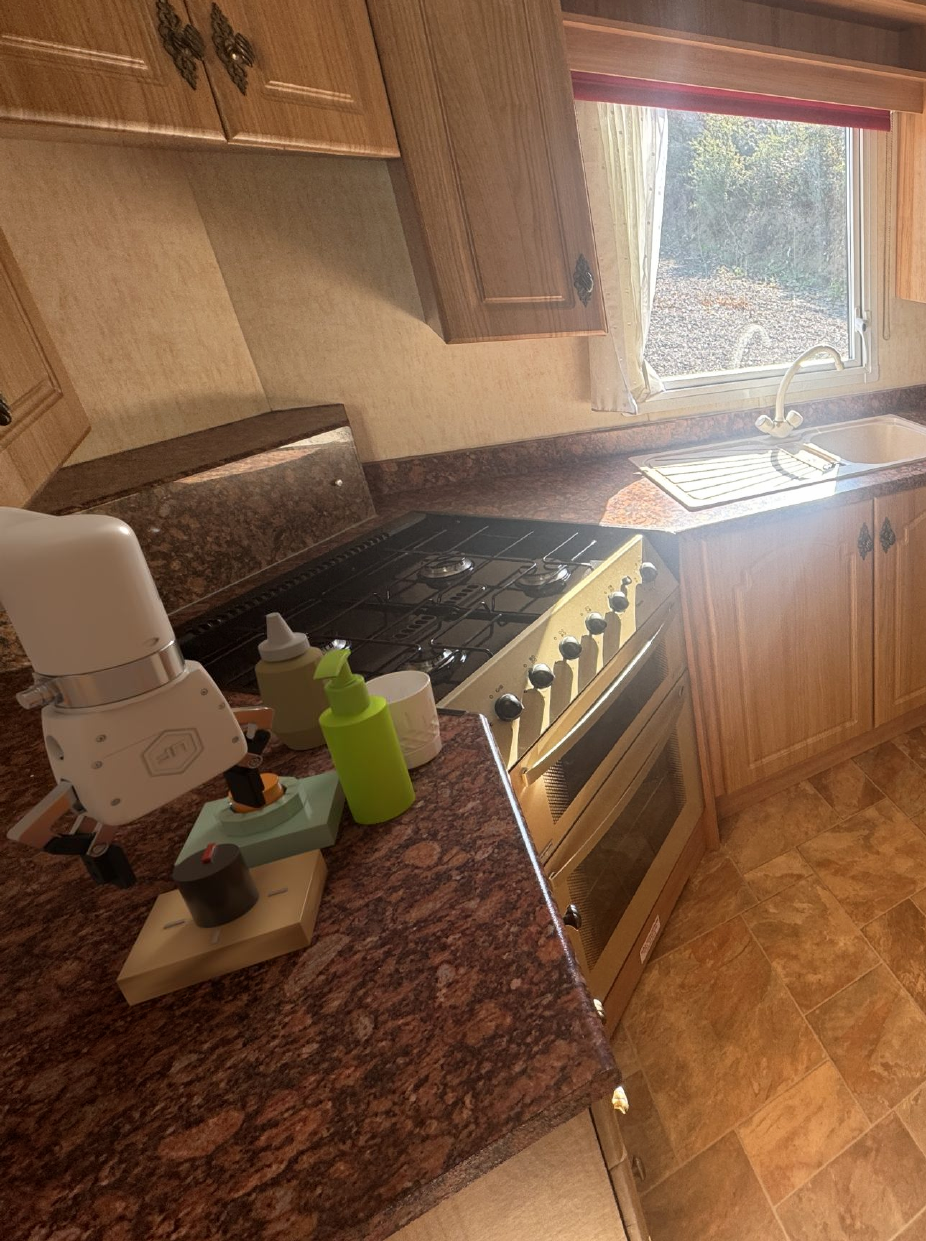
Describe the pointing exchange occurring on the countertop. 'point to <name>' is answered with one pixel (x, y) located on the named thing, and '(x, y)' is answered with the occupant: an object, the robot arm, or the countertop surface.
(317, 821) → the green button base
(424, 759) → the white cup
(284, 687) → the squeeze bottle
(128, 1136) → the countertop surface
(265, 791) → the orange arcade button
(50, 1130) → the countertop surface
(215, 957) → the dial panel
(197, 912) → the dial
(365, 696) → the soap dispenser
